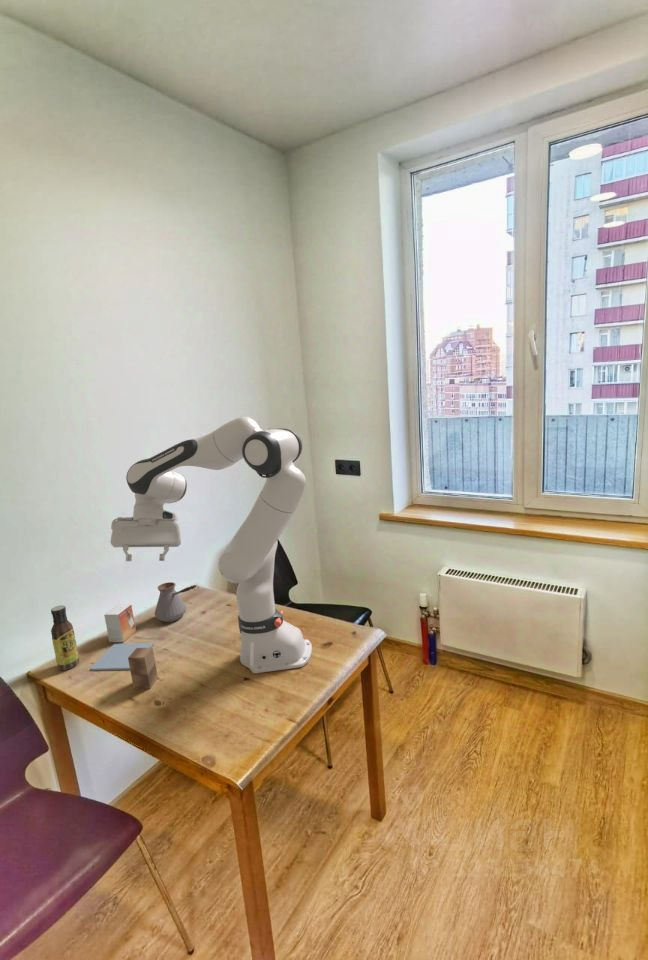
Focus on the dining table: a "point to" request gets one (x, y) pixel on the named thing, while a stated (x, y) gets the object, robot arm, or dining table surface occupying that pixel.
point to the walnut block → (143, 668)
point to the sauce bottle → (63, 639)
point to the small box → (120, 623)
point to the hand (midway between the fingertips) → (145, 560)
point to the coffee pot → (170, 603)
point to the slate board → (118, 657)
